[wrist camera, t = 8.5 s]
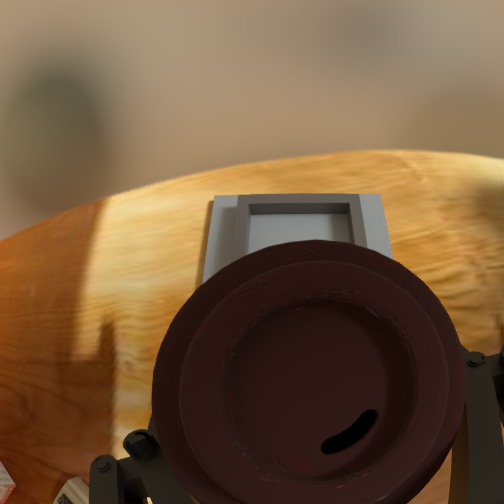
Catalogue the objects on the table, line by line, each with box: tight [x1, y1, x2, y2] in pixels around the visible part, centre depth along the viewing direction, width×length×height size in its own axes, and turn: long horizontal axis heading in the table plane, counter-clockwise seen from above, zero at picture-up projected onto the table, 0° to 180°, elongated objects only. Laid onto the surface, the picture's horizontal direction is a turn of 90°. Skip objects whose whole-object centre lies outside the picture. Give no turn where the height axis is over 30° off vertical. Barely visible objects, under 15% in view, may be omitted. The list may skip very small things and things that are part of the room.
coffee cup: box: [152, 239, 466, 504], centre depth 13 cm, size 10×10×15 cm
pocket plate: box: [202, 194, 393, 284], centre depth 37 cm, size 24×20×4 cm
